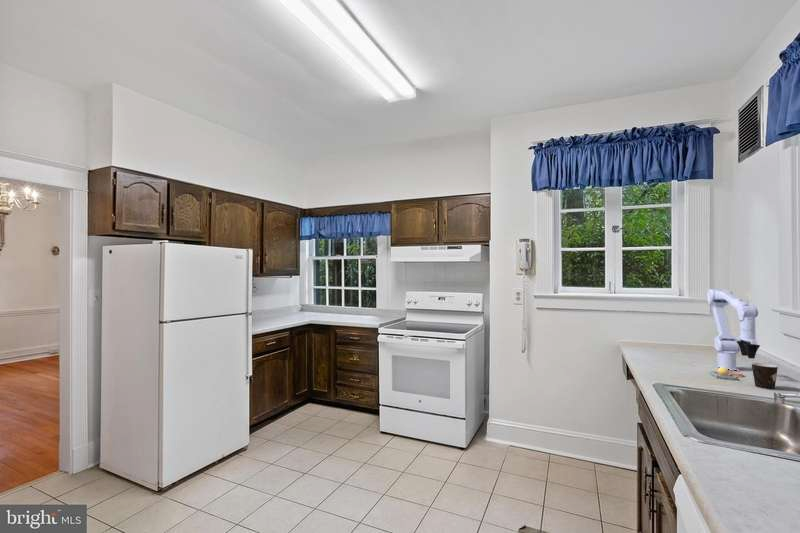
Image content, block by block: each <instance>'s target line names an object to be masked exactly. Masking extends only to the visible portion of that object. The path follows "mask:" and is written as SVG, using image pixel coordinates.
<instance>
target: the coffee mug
mask: <svg viewBox="0 0 800 533" xmlns="http://www.w3.org/2000/svg"><path fill="white" fill-rule="evenodd" d="M778 368H779V367H778V365H775V364H770V363H761V362H751V369H752V374H753V382H754V386H755V387H756V388H759V389H765V390H775V389H776V382H777V375H778Z"/></svg>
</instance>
